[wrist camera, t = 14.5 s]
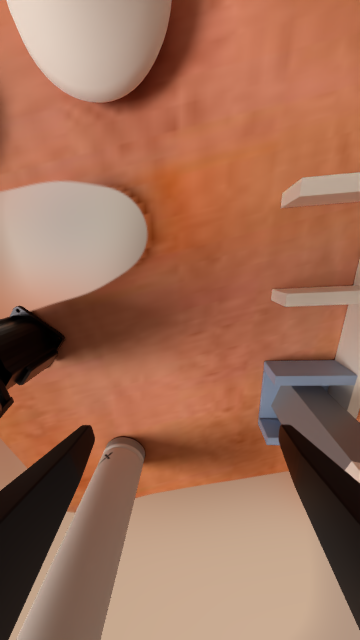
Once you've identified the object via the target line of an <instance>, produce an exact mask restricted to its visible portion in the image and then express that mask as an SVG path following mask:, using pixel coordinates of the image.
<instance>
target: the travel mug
mask: <svg viewBox="0 0 360 640" xmlns="http://www.w3.org/2000/svg"><path fill="white" fill-rule="evenodd" d="M144 458H145V451H144V448H143V447H142V446H141V444H140V443H138V442H137V441H135V440H133V439H131V438H127V437H118V438H115V439H113V440H111V441H110V442H109V443H108V444H107V446H106V448H105V450H104V453H103V455H102V457H101V459H100V461H99V463H98V466H97V468H96V470H95V472H94V474H93V476H92V478H91V481H90V483H89V485H88V487H87V489H86V491H85V493H84V496H83V498H82V500H81V502H80V504H79V506H78V508H77V511H76V513H75V515H74V517H73V519H72V521H71V523H70V526H69V528H68V530H67V532H66V534H65V536H64V538H63V541H62V543H61V545H60V547H59V549H58V551H57V553H56V556H55V558H54V560H53V562H52V564H51V566H50V568H49V571H48V573H47V575H46V577H45V579H44V581H43V583H42V586H41V588H40V590H39V592H38V594H37V596H36V598H35V601H34V603H33V605H32V607H31V610H30V611H29V613H28V616H27V618H26V620H25V622H24V624H23V626H22V629H21V631H20V633H19V635H18V637H17V639H16V640H100V639H101V635H102V631H103V627H104V623H105V619H106V615H107V610H108V606H109V602H110V598H111V594H112V590H113V586H114V582H115V578H116V574H117V569H118V565H119V561H120V557H121V553H122V549H123V545H124V541H125V537H126V532H127V528H128V524H129V520H130V516H131V511H132V507H133V503H134V500H135V495H136V491H137V487H138V483H139V479H140V475H141V471H142V467H143V463H144Z"/></svg>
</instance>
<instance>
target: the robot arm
mask: <svg viewBox="0 0 360 640" xmlns="http://www.w3.org/2000/svg"><path fill="white" fill-rule="evenodd" d="M19 310H20V311H19ZM59 338H60V339H59ZM64 339H65V338H64V336H63V335H62V334H60V333H59V332H57V331H56V330H55V329H53V328H52V327H50V326H49V325H48V324H46V323H45V322H43V321H42V320H41V319H39V318H38V317H36V316H35V315H34V314H32V313H31V312H29V311H28V310H26V309H25V308H24V307H22V306H17V307H15V308H14V309H13V311H12V313H11V315H10V317H7V318H4V319H0V418H1V417H2V415H3V414H4V413H5V412H6V411H7V410H8V408H9V407H10V406H11V405H12V404H13V402H14V401H13V398H12V397H10V395H9V393H8V391H7V390H8V389H9V388H10V387H12V386H13V385H15V384H16V383H17V384H18V385H23V384H25V383H26V382H28V381H29V380H30V379H32V378H33V377H35V376H36V375H37V374H39V373H40V372H41V371H43V370H44V369H46V368H47V367H48V366H50V365H51V363H52V362H53V360H54V359H55V357H56V356H57V354H58V351H57V350H58V349H59V347H60V346H61V344H62V343H63V341H64ZM94 441H95V436H94V433H93V430H92V427H91V426H90V425H82V426H81V427H79V428H78V429H77V430H76V431H74V432H73V433H72V434H71V435H69V436H68V437H67V438H66V439H64V440H63V441H62V442H61V443H59V444H58V445H57V446H56V447H54V448H53V449H52V450H51V451H49V452H48V453H47V454H46V455H44V456H43V457H42V458H41V459H39V460H38V461H37V462H36V463H34V464H33V465H32V466H31V467H29V468H28V469H27V470H26V471H25V472H23V473H22V474H21V475H20V476H18V477H17V478H16V479H14V480H13V481H12V482H11V483H10V484H8V485H7V486H6V487H4V488H3V489H2V490H1V491H0V640H8V639H9V637H10V635H11V633H12V631H13V628H14V626H15V624H16V622H17V620H18V617H19V615H20V613H21V611H22V609H23V606H24V604H25V602H26V599H27V597H28V595H29V593H30V591H31V588H32V586H33V584H34V582H35V580H36V577H37V575H38V573H39V571H40V569H41V566H42V564H43V562H44V560H45V558H46V556H47V553H48V551H49V549H50V546H51V544H52V542H53V540H54V538H55V536H56V533H57V531H58V529H59V527H60V525H61V522H62V520H63V518H64V516H65V514H66V511H67V509H68V507H69V505H70V503H71V500H72V498H73V496H74V494H75V491H76V489H77V487H78V485H79V482H80V480H81V478H82V475H83V472H84V470H85V467H86V464H87V461H88V458H89V456H90V453H91V450H92V447H93V445H94ZM279 444H280V446H281V449H282V452H283V455H284V458H285V461H286V463H287V466H288V469H289V472H290V475H291V477H292V480H293V483H294V485H295V488H296V490H297V492H298V495H299V497H300V499H301V501H302V503H303V506H304V508H305V510H306V512H307V515H308V517H309V519H310V521H311V523H312V526H313V528H314V530H315V532H316V535H317V537H318V539H319V541H320V543H321V546H322V548H323V550H324V552H325V554H326V557H327V559H328V561H329V563H330V565H331V568H332V570H333V572H334V574H335V576H336V579H337V581H338V583H339V585H340V587H341V590H342V592H343V594H344V596H345V599H346V601H347V603H348V605H349V607H350V610H351V612H352V614H353V616H354V618H355V621H356V623H357V625H358V627H359V630H360V483H359V482H358V481H357V480H355V479H354V478H353V477H352V476H351V475H350V474H348V473H347V472H346V471H345V470H344V469H342V468H341V467H340V466H339V465H338V464H337V463H335V462H334V461H333V460H332V459H331V458H329V457H328V456H327V455H326V454H325V453H324V452H322V451H321V450H320V449H319V448H318V447H317V446H315V445H314V444H313V443H312V442H311V441H309V440H308V439H307V438H306V437H305V436H304V435H302V434H301V433H300V432H299V431H298V430H296V429H295V428H294V427H293V426H292V425H290V424H281V425H280V429H279Z"/></svg>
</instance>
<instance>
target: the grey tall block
mask: <svg viewBox="0 0 360 640" xmlns="http://www.w3.org/2000/svg"><path fill="white" fill-rule="evenodd" d="M271 407H272V409H273V410H274V412H275V414H276V416H277V418H278V419H279V421H280V423H281V424H290V425H292V426H293V427H294V428H295V429H296V430H298V431H299V432H300V433H301V434H302V435H304V436H305V437H306V438H307V439H308V440H309V441H311V442H312V443H313V444H314V445H315V446H317V447H318V448H319V449H320V450H321V451H322V452H324V453H325V454H326V455H327V456H328V457H329V458H331V459H332V460H333V461H334V462H335V463H337V464H338V465H339V466H340V467H341V468H342V469H344V470H345V471H346V472H347V473H348V474H350V475H351V476H352V477H353V478H354V479H355V480H357V481H358V482H359V483H360V423H359V422H358V421H357V420H356V419H355V418H354V417H353V416H352V415H351V414H350V413H349V412H348V411H347V410H346V409H345V408H344V407H343V406H341V405H340V404H339V403H338V402H337V401H336V400H335V399H334V398H333V397H332V396H331V395H330V394H329V393H328V392H327V391H326V390H325V389H324V388H323V387H322V386H280V388H279V390H278V392H277V395H276V397H275V399H274V401H273V403H272V405H271Z"/></svg>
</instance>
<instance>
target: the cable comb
mask: <svg viewBox="0 0 360 640" xmlns="http://www.w3.org/2000/svg"><path fill="white" fill-rule="evenodd" d="M351 202H360V172H358V173H347V174H336V175H326V176H315V177H304V178H301V179H300V180H298V181H297V182H296V183H295V184H293V185H292V186H291V187H289V188H288V189H287V190H286V191H284V192H283V193H282V201H281V208H289V207H301V206H314V205H326V204H338V203H351ZM271 300H272V301H274V302H276V303H278V304H280V305H282V306H284V307H294V306H320V305H346V304H348V308H347V312H346V316H345V320H344V325H343V329H342V333H341V337H340V341H339V345H338V349H337V353H336V357H335V360H298V361H265V362H264V372H263V381H262V391H261V400H260V410H259V419H258V425H259V427H260V430H261V432H262V434H263V437H264V439H265V442H266V444H267V445H280V444H279V429H280V425H281V423H280V421H279V419H278V418H277V416H276V414H275V412H274V410H273V409H272V407H271V405H272V403H273V401H274V399H275V397H276V395H277V392H278V390H279V388H280V386H322V387H323V388H324V389H325V390H326V391H327V392H328V393H329V394H330V395H331V396H332V397H333V398H334V399H335V400H336V401H337V402H338V403H339V404H340V405H341V406H343V407H344V408H345V409H346V410H347V411H348V412H349V413H350V414H351V415H352V416H353V417H354V418H355V419H356V418H357V415H358V412H359V409H360V259H359V263H358V267H357V272H356V276H355V280H354V284H353V285H351V286H329V287H307V288H285V289H272V296H271Z"/></svg>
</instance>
